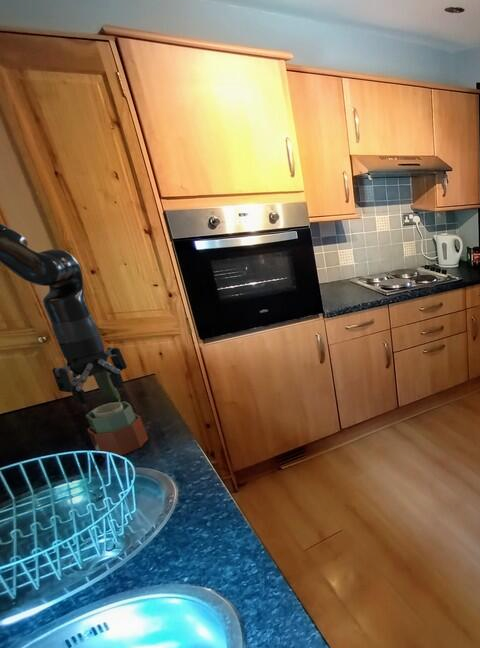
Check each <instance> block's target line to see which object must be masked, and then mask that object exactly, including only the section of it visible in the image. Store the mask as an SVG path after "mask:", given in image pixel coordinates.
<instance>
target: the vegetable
mask: <svg viewBox="0 0 480 648" xmlns="http://www.w3.org/2000/svg"><path fill="white" fill-rule="evenodd" d="M107 363H109V364H110V362H109V360H108V359H107ZM110 374H111V373H108V372H107V371H105V370H103V371H102V372H100V373H95V374H94V375H92V376H93V377H94V381H95V383H96V384H97V386H98V388H99V391H100V393H101V394H102V396H103V398H104V399H105V400H106V401H107V402H108V403H114V402H121V395H120V393H119V391H118V388H115V387H114V386H113V384H112V381H111V378H110V376H109V375H110Z"/></svg>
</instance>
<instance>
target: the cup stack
mask: <svg viewBox="0 0 480 648" xmlns="http://www.w3.org/2000/svg"><path fill="white" fill-rule="evenodd" d="M109 403H110V402H108V403H107V404H109ZM114 403H116V402H114ZM118 403H121V404H122V405H123V407H124V411H122V412H120V413H117V414H114V415H112V416H109V417H103V418H95V417H94V414H93V410H95V409H96V408H98V407H99V406H97V407H94V408H93V409H92V410H91V411H89V412H88V413H87V414H86V415H85V417H86V420H87V422H88V423H89V425H90V427H89V428H87V429H86V431H87V433H88V435H89V437H90V440H91V442H92V444H93V446H94V449H95V451H96V450H102V451H110V452H114V453H117V454H120V455H122V456H124V455H126V454H129V453H132V452H133V451H135V450H138V449H140V448H142V447H143V446H144V445H145V443H146V442H147V441H148V440H149V436H148V434H147V431H146V428H145V426H144V423H143V420H142V418H141V416H140V415H138V414H136V413H135V412H134V409H133V407H132V404H130V403H128V402H127V401H120V402H118ZM100 456H101V457H102V458H107V457H106V456H104V455H100Z"/></svg>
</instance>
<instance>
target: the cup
mask: <svg viewBox="0 0 480 648" xmlns="http://www.w3.org/2000/svg"><path fill="white" fill-rule="evenodd" d="M108 403H109V404H108ZM108 403H105V404H102V405H100V406H97V407H98V408H97V407H95V408H96V409H95V410H93V409H92V410H93V414H94V417H95V418H103V417H109V416H112V415H114V414H117V413H120V412H122V411H124V407H123V405H122V404H121V403H118V402H116V403H110V402H108Z"/></svg>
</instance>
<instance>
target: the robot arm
mask: <svg viewBox="0 0 480 648" xmlns="http://www.w3.org/2000/svg"><path fill="white" fill-rule="evenodd" d="M28 245H29V241H28V239H27V237H25V235H23V234H22V233H20V232H18V231H17V230H15V229H12V227H9V226H7V225H5V224H3V223H1V222H0V263H1V264H2V265H3V266H4V267H6V269H8V270H10V271H11V272H12V273H13V274H15V275H17V276H18V277H19V278H20V279H22V280H24V281H26V282H28V283H31V284H34V285H37V286H42V287H48V288H49V289H48V290H49V291H48V293H47V294H46V295H45V296H44V297H43V299H42V303H43V307H44V309H45V312H46V314H47V316H48V319H49V321H50V325H51V329H52V332H53V334H54V337H55V339H56V341H57V345H58V346H59V349H60V351H61V354H62V356H63V358H64V359H65V360H66V365H64V366H60V367H53V368H52V374H53V377H54V380H55V382H56V385H57V388H58V390H59V392H63V393H71V394H72V397H73V399H74V401H75V402H76V403H78V404H80V405H87V404H89V399H88V397H87V394H86V393H85V390H84V389H83V387H84V384H85V383H86V382H87V380H88V378H89V377H90V378H91V377H92V376H93V375H94V374H95V373H100V372H102V371H103V370H105V371H107V372H108V373H111V374H110V375H109V376H110V378H111V381H112V384H113V386H114V387H115V388H116V389H121V388H123V387H124V380H123V377H122V374H121V373H122V371H123V370H126V369H127V368H128V366H127V364H126V361H125V359H124V357H123V353H122V351H121V350H120V348H118V347H109V346H108V347H107V349H106V350H105V345H104V343H103V340H102V338H101V335H100V331H99V329H98V327H97V323H96V322H95V320H94V318H93V316H92V315H91V311H90V310H89V307H88V304H87V302H86V299H85V296H84V293H85V292H84V279H83V271H82V268H81V265H80V263H79V261H78V259H76V257H75V256H74V255H73V254H71V253H70V252H68V251H66V250H64V249H61V248H60V249H59V248H53V249H52V248H51V249H47V250H44V251H40V252H37V251H35V250H33V249H31V248H30V247H28ZM108 358H110V360H111V361H112V364H111V363H110V362H109V363H107V360H108ZM70 371H71V373H70ZM69 375H70V377H69Z"/></svg>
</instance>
